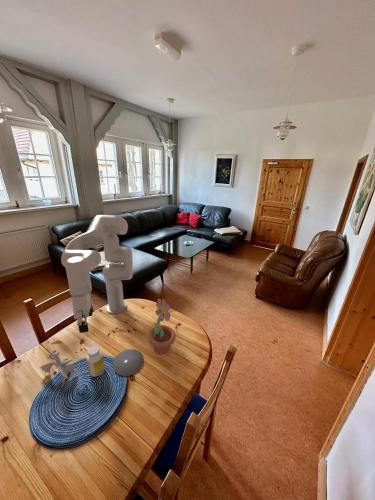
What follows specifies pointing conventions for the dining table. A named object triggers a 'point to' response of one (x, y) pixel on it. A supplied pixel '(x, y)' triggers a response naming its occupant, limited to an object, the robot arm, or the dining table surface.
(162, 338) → the decorative flower
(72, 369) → the fairy figurine
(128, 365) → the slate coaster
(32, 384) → the dining table surface
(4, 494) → the dining table surface
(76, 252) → the robot arm
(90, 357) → the supplement bottle
